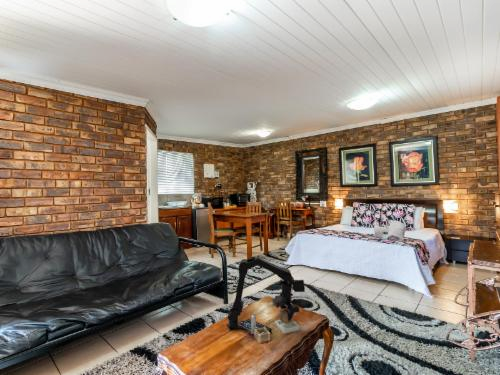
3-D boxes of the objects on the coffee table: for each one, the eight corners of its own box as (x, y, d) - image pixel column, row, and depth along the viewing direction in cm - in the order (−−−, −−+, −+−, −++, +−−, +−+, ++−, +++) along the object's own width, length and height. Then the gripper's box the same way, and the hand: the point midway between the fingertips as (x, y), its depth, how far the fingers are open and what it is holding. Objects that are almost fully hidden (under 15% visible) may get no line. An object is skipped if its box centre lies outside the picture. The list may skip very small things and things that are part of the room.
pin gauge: (250, 332, 154) (250, 314, 154) (254, 331, 155) (254, 313, 155) (252, 334, 151) (252, 317, 151) (256, 333, 152) (256, 315, 152)
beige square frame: (254, 336, 149) (254, 329, 149) (264, 334, 152) (264, 327, 152) (259, 343, 143) (259, 335, 143) (270, 340, 146) (270, 332, 146)
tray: (274, 325, 161) (274, 321, 161) (289, 321, 165) (289, 317, 165) (283, 334, 151) (283, 329, 151) (299, 329, 156) (299, 325, 156)
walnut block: (279, 319, 160) (279, 309, 160) (288, 317, 162) (288, 307, 162) (284, 324, 154) (284, 313, 154) (293, 321, 157) (293, 311, 157)
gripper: (266, 288, 163) (266, 313, 164) (282, 300, 146) (282, 329, 146) (282, 285, 168) (283, 310, 168) (300, 296, 151) (300, 324, 151)
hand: (286, 318), depth 158 cm, fingers closed on walnut block, 6 cm apart
